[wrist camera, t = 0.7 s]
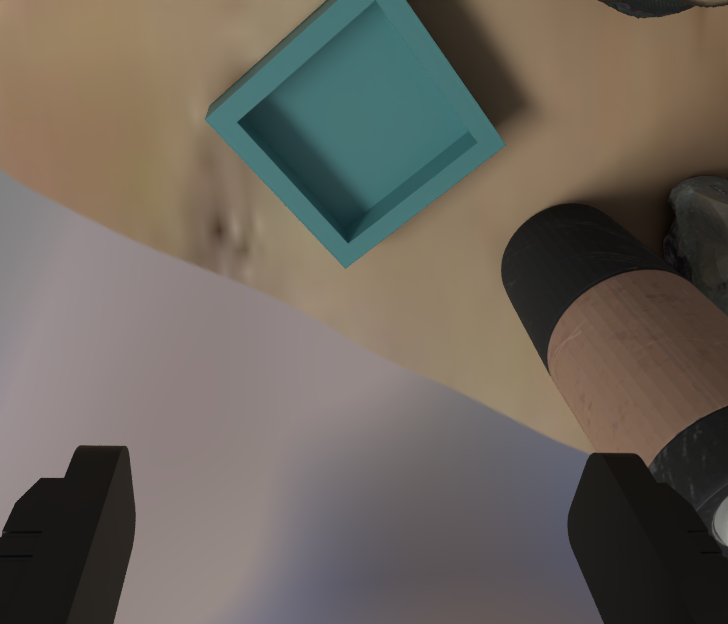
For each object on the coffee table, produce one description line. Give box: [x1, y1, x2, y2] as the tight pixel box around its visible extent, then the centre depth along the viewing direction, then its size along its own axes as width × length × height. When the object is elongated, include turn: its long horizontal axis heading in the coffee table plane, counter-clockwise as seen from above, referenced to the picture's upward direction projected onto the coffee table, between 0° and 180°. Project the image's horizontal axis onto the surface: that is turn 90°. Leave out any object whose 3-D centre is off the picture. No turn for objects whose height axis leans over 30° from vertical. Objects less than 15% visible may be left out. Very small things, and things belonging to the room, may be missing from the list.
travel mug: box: [501, 204, 728, 559], centre depth 30 cm, size 8×8×20 cm
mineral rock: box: [663, 176, 728, 317], centre depth 36 cm, size 13×11×10 cm
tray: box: [205, 0, 506, 269], centre depth 32 cm, size 10×10×2 cm
